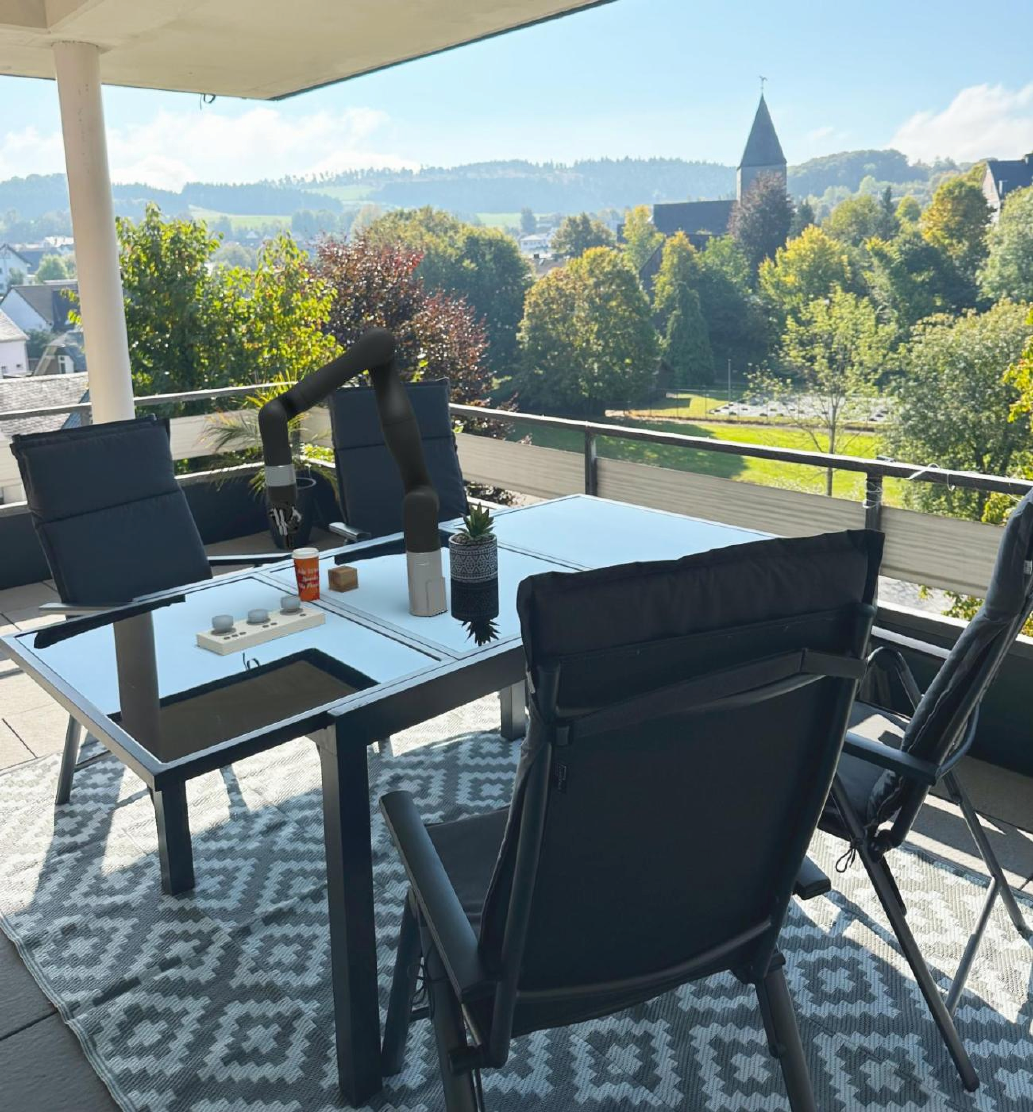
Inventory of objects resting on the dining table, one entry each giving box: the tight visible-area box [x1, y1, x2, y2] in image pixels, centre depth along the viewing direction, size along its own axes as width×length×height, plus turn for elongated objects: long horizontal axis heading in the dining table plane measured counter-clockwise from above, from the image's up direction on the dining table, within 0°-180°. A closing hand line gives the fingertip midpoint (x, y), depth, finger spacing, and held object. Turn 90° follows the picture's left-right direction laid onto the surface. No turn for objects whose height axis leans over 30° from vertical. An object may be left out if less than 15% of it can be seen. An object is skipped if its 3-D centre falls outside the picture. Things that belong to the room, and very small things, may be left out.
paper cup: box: [291, 547, 321, 602], centre depth 281 cm, size 8×8×14 cm
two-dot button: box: [247, 608, 269, 623], centre depth 254 cm, size 5×5×2 cm
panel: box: [195, 605, 326, 656], centre depth 253 cm, size 12×30×3 cm, turn 137°
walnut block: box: [327, 565, 359, 594], centre depth 290 cm, size 6×6×6 cm
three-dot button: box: [211, 614, 234, 629], centre depth 246 cm, size 5×5×2 cm
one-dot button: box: [279, 595, 302, 609], centre depth 260 cm, size 5×5×2 cm
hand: (289, 548), depth 257 cm, fingers closed
